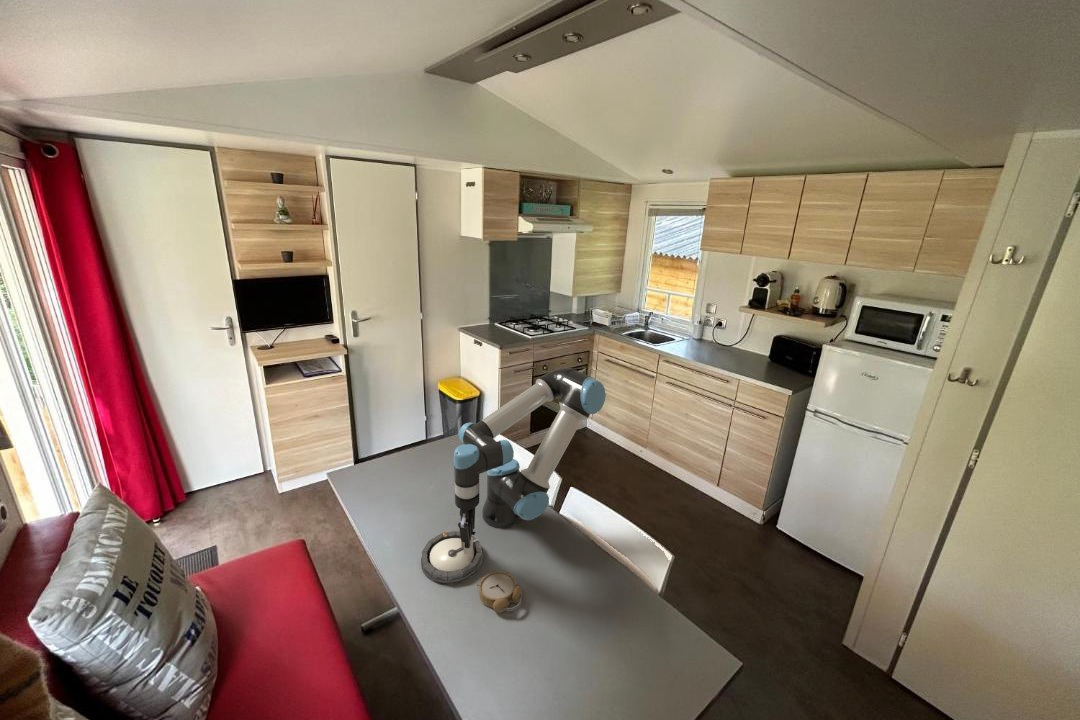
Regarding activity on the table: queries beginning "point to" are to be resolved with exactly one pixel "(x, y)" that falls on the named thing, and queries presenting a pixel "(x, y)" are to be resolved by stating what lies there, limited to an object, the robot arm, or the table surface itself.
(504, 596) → the alarm clock
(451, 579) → the housing
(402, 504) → the table surface
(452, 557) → the dial
